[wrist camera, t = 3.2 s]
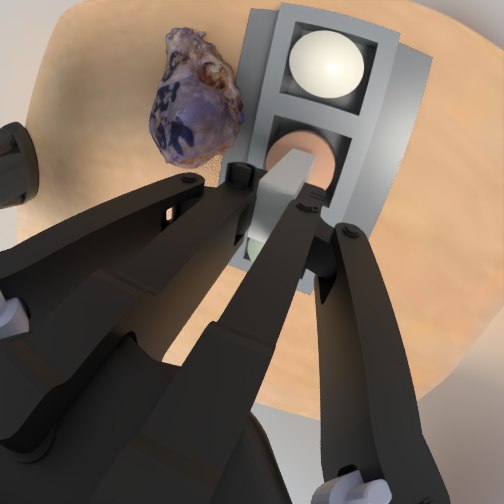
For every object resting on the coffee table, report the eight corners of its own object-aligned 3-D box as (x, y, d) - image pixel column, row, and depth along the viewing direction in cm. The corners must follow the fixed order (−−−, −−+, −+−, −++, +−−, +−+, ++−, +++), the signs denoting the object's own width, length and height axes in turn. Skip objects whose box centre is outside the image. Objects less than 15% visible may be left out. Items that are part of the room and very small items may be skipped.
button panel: (214, 235, 29) (198, 253, 26) (253, 9, 16) (237, -2, 13) (345, 282, 27) (342, 306, 24) (430, 58, 14) (444, 53, 11)
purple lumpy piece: (168, 40, 19) (116, 37, 14) (243, 17, 16) (197, -1, 11) (184, 158, 25) (137, 178, 20) (258, 155, 22) (219, 175, 17)
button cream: (290, 87, 17) (282, 87, 15) (303, 31, 14) (297, 23, 12) (353, 106, 16) (354, 107, 14) (368, 48, 13) (370, 42, 12)
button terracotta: (269, 176, 21) (260, 187, 19) (282, 121, 18) (274, 125, 16) (325, 195, 20) (322, 208, 18) (343, 140, 18) (342, 146, 16)
